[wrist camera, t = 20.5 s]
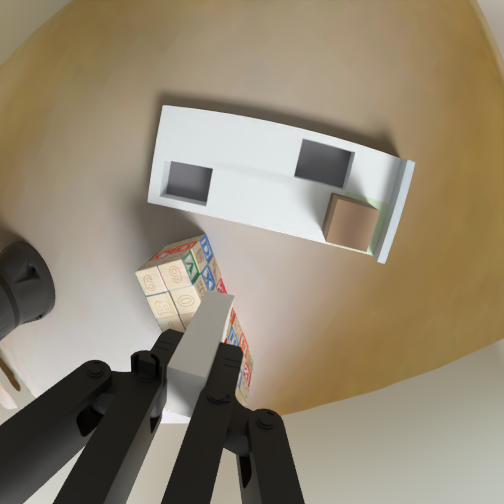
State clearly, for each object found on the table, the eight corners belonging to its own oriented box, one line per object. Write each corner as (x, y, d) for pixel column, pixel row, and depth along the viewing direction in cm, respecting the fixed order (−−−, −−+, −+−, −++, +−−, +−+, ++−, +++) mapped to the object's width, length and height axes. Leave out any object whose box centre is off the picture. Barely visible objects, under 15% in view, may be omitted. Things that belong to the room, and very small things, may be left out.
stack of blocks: (164, 244, 40) (120, 282, 29) (206, 232, 39) (172, 269, 27) (217, 367, 46) (199, 425, 35) (255, 362, 45) (244, 422, 33)
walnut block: (321, 229, 34) (325, 241, 30) (331, 192, 33) (337, 198, 28) (357, 239, 34) (366, 252, 30) (368, 202, 33) (379, 210, 28)
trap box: (155, 198, 38) (140, 205, 34) (170, 107, 34) (156, 103, 30) (374, 250, 37) (384, 263, 33) (401, 160, 33) (415, 162, 28)
